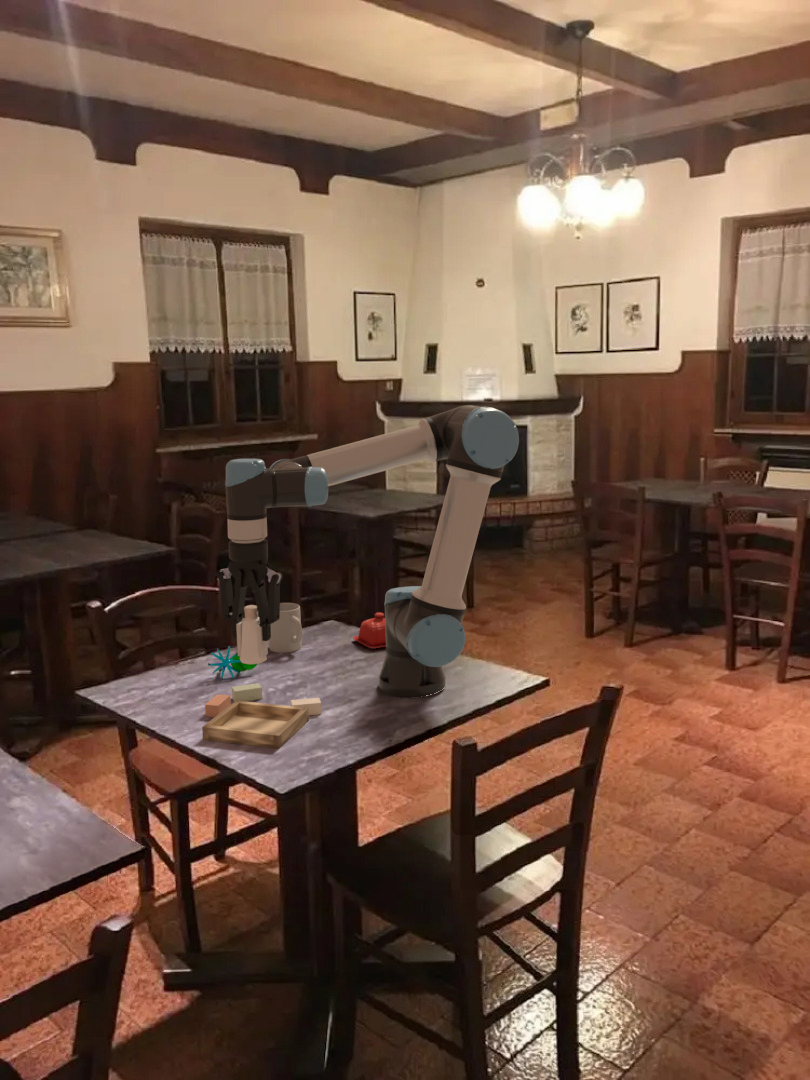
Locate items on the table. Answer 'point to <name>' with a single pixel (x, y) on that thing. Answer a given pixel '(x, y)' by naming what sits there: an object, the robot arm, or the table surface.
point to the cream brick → (309, 705)
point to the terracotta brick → (217, 705)
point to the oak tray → (256, 724)
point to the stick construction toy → (234, 661)
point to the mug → (286, 630)
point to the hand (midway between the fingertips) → (252, 654)
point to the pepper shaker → (250, 637)
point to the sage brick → (247, 692)
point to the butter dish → (373, 632)
